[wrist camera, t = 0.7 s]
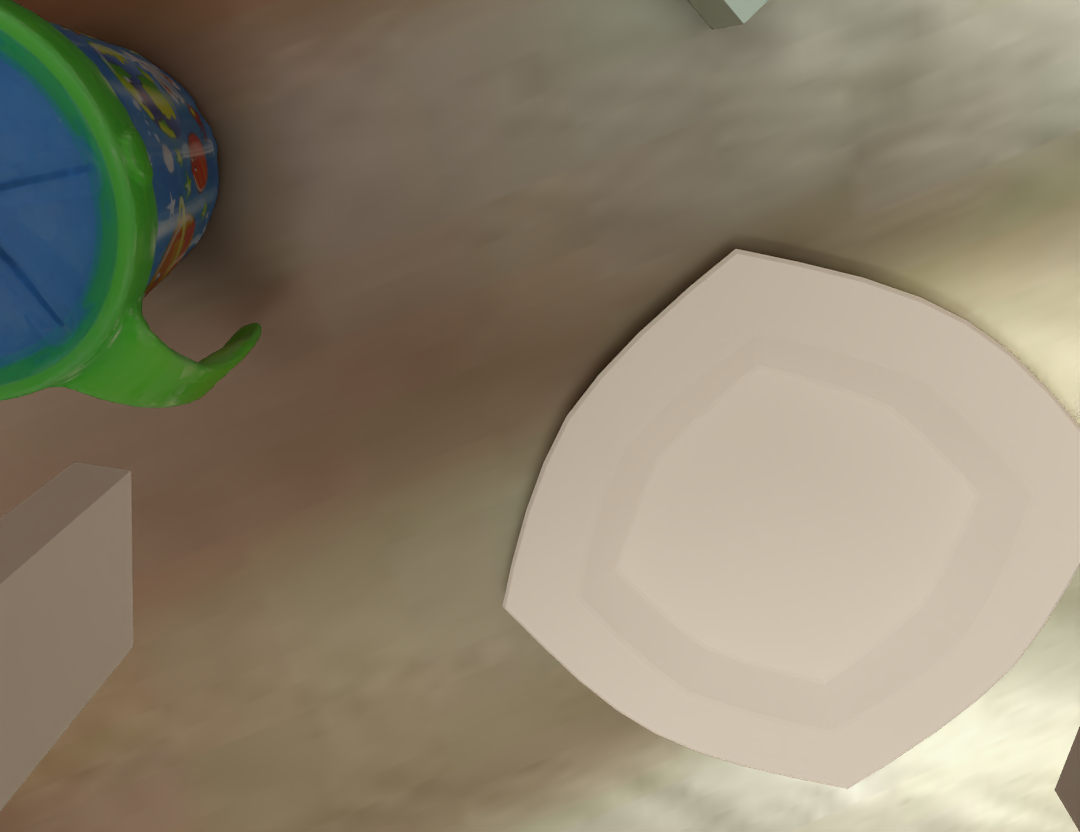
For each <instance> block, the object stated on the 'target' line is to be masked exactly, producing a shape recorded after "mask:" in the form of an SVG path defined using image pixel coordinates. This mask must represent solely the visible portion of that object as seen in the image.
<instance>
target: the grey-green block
mask: <svg viewBox="0 0 1080 832" xmlns="http://www.w3.org/2000/svg"><path fill="white" fill-rule="evenodd" d="M688 1H689V2H690V3H691V4H692V6H693V7H694V8H695V9H696V10H697V11H698V13H699V14H700V15H701V16H702V17H703V18H704V20H705V21H706V22H707V23H708V24H709V26H710V27H711V28H712V29H715V28H722V27H728V26H734V25H740V24H744V23H745V22H746V21H748V20H749V19H750V18H751V17H752V16H753V15H754V14H755V13H756V12H757V11H758V10H759V9H760V8H761V7H762V6H763V5H764V4H765V3H766V2H767V1H768V0H688Z"/></svg>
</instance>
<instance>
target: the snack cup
mask: <svg viewBox="0 0 1080 832" xmlns="http://www.w3.org/2000/svg"><path fill="white" fill-rule="evenodd" d="M217 152H218V145H217V143H216V141H215V139H214V137H213V133H212V130H211V127H210V126H209V125H208V123H207V122H206V121H205V120H204V118H203V116H202V115H201V113H200V112H199V111H198V109H197V107H196V104H195V102H194V99H193V98H192V97H191V96H190V95H189V94H188V92H187V91H186V90H185V89H184V88H183V87H182V86H181V85H180V84H179V83H178V82H176V81H175V80H174V79H173V78H172V77H170V76H169V75H168V74H167V73H165V72H164V71H162V70H161V69H159V68H158V67H156V66H155V65H153V64H152V63H150V62H149V61H148V60H146V59H145V58H144V57H142V56H141V55H139V54H138V53H136V52H134V51H131V50H129V49H126V48H123V47H120V46H116V45H113V44H110V43H106V42H104V41H102V40H99V39H96V38H95V37H92V36H89V35H86V34H84V33H81V32H77V31H74V30H72V29H69V28H66V27H63V26H60V25H57V24H54V23H51V22H48V21H45V20H44V19H43V18H41V17H40V16H38V15H37V14H35V13H34V12H32V11H30V10H28V9H26V8H24V7H23V6H21V5H19V4H17V3H15V2H14V1H12V0H0V401H1V400H7V399H12V398H17V397H21V396H24V395H27V394H31V393H34V392H37V391H39V390H42V389H45V388H48V387H66V388H69V389H73V390H76V391H78V392H81V393H84V394H87V395H90V396H93V397H96V398H98V399H103V400H107V401H110V402H114V403H120V404H125V405H130V406H134V407H147V408H165V407H174V406H179V405H183V404H188V403H191V402H193V401H195V400H198V399H199V398H201V397H202V396H204V395H205V394H206V393H207V392H208V391H209V390H210V389H211V388H213V387H214V385H215V384H216V383H217V382H218V381H219V380H220V379H222V378H223V377H224V376H226V374H227V373H228V372H229V371H230V370H231V369H233V368H234V367H235V366H236V365H237V364H238V363H239V362H240V361H241V360H242V359H243V358H244V357H245V356H246V355H247V354H248V353H249V351H250V350H251V349H252V348H253V347H254V345H255V344H256V342H257V341H258V339H259V337H260V335H261V325H260V324H258V323H252V324H249V325H246V326H244V327H242V328H241V329H240V330H238V331H237V332H236V333H235V334H234V335H233V336H232V338H231V339H230V340H229V341H228V342H227V343H226V344H225V345H224V347H223V348H221V349H220V350H218V351H216V352H214V353H213V354H211V355H209V356H207V357H206V358H204V359H202V360H201V361H200V362H198V363H197V362H195V361H193V360H191V359H189V358H187V357H185V356H183V355H181V354H179V353H177V352H175V351H174V350H172V349H170V348H169V347H168V346H167V345H166V344H165V343H163V342H162V341H161V340H160V339H159V338H158V337H157V336H156V335H155V334H154V333H153V332H152V331H151V330H150V328H149V326H148V324H147V322H146V321H145V319H144V318H143V315H142V299H143V298H144V297H145V296H146V295H147V294H148V293H149V292H150V291H151V290H152V289H153V288H154V287H155V286H156V285H157V284H158V283H159V282H161V281H162V280H163V279H164V278H165V277H166V276H167V275H168V274H169V273H170V272H171V271H172V269H173V268H174V267H175V266H176V265H177V264H178V263H179V262H180V261H181V260H182V258H184V257H185V256H186V255H187V253H188V252H189V251H190V250H191V249H192V248H193V247H194V246H195V245H196V244H197V243H198V241H199V240H200V239H201V237H202V236H203V233H204V232H205V229H206V225H207V223H208V222H209V220H210V217H211V214H212V212H213V209H214V206H215V203H216V200H217V194H218V188H219V175H218V164H217Z"/></svg>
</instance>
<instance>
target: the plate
mask: <svg viewBox="0 0 1080 832" xmlns="http://www.w3.org/2000/svg"><path fill="white" fill-rule="evenodd" d="M1079 565H1080V426H1079V425H1078V424H1077V422H1076V421H1075V420H1074V419H1073V418H1072V416H1071V415H1070V414H1069V413H1068V412H1067V410H1066V409H1065V408H1064V407H1063V406H1062V404H1061V403H1060V402H1059V401H1058V399H1057V398H1056V397H1055V396H1054V395H1053V393H1052V392H1051V391H1050V390H1049V389H1048V388H1047V387H1046V386H1045V385H1044V384H1043V383H1042V382H1041V381H1040V380H1039V379H1038V378H1037V377H1036V376H1035V375H1034V374H1033V373H1032V372H1031V371H1030V370H1029V369H1028V368H1026V367H1025V366H1024V365H1023V364H1022V363H1021V362H1020V361H1019V360H1018V359H1017V358H1016V357H1015V356H1014V355H1013V354H1012V353H1011V352H1010V351H1009V350H1007V349H1006V348H1005V347H1003V346H1002V345H1000V344H999V343H998V342H996V341H995V340H994V339H992V338H991V337H989V336H988V335H987V334H985V333H984V332H983V331H981V330H980V329H978V328H977V327H976V326H974V325H973V324H971V323H970V322H969V321H967V320H965V319H963V318H961V317H959V316H957V315H955V314H953V313H951V312H949V311H947V310H945V309H943V308H941V307H939V306H937V305H935V304H933V303H931V302H929V301H927V300H925V299H923V298H921V297H918V296H915V295H912V294H909V293H907V292H904V291H901V290H898V289H895V288H892V287H889V286H886V285H883V284H880V283H878V282H875V281H872V280H869V279H866V278H863V277H859V276H855V275H850V274H846V273H842V272H838V271H834V270H830V269H826V268H822V267H818V266H814V265H809V264H805V263H801V262H797V261H792V260H787V259H783V258H778V257H773V256H768V255H763V254H759V253H754V252H749V251H744V250H740V249H735V250H734V251H732V252H731V253H730V254H729V255H727V256H726V257H725V258H724V259H723V260H721V261H720V262H719V263H718V264H716V265H715V266H714V267H713V268H712V269H710V270H709V271H708V272H707V273H706V274H704V275H703V276H702V277H701V278H699V279H698V280H697V281H696V282H695V283H693V284H692V285H691V286H690V287H689V288H687V289H686V290H685V291H684V292H683V293H682V294H681V295H680V296H679V297H678V298H676V299H675V300H674V301H673V302H672V303H671V304H670V305H669V306H668V307H667V308H665V309H664V310H663V311H662V312H661V313H660V314H659V315H658V316H657V317H655V318H654V319H653V320H652V321H651V322H650V323H649V324H648V325H647V326H646V327H644V328H643V329H642V330H641V331H640V332H639V333H638V334H637V335H636V336H635V337H634V338H633V339H632V340H631V341H630V342H629V343H628V344H627V346H626V347H625V348H624V349H623V350H622V351H621V352H620V353H619V354H618V355H617V356H616V357H615V358H614V359H613V360H612V361H611V362H610V363H609V364H608V365H607V367H606V368H605V369H604V370H603V371H602V372H601V373H600V374H599V375H598V376H597V378H596V379H595V380H594V381H593V383H592V384H591V385H590V387H589V388H588V389H587V391H586V392H585V393H584V394H583V396H582V397H581V398H580V400H579V401H578V402H577V403H576V405H575V406H574V407H573V409H572V410H571V411H570V412H569V414H568V415H567V416H566V418H565V420H564V422H563V424H562V426H561V428H560V430H559V432H558V434H557V436H556V438H555V440H554V443H553V445H552V447H551V449H550V451H549V453H548V455H547V457H546V459H545V461H544V463H543V466H542V469H541V471H540V474H539V477H538V479H537V482H536V485H535V488H534V490H533V493H532V496H531V499H530V501H529V504H528V507H527V510H526V513H525V517H524V520H523V524H522V528H521V531H520V535H519V539H518V542H517V546H516V550H515V553H514V557H513V560H512V564H511V569H510V574H509V578H508V583H507V588H506V593H505V597H504V602H503V608H504V609H505V610H506V611H507V612H508V613H509V614H510V615H511V616H512V617H513V618H514V619H515V620H516V621H517V622H518V623H519V624H520V625H521V626H522V627H523V628H524V629H525V630H526V631H527V632H528V633H529V634H530V635H531V636H532V637H533V638H535V639H536V640H537V641H538V642H539V643H540V644H541V645H542V646H543V647H544V648H545V649H546V650H547V651H548V652H549V653H550V654H551V655H552V656H553V657H554V658H555V659H557V660H558V661H559V662H560V663H561V664H562V665H563V666H564V667H565V668H566V669H567V670H568V671H569V672H570V673H571V674H572V675H574V676H575V677H576V678H577V679H578V680H579V681H580V682H582V683H583V684H584V685H585V686H587V687H588V688H589V689H590V690H592V691H593V692H594V693H596V694H597V695H598V696H599V697H601V698H602V699H603V700H604V701H606V702H607V703H608V704H609V705H611V706H612V707H613V708H615V709H616V710H617V711H619V712H620V713H622V714H624V715H625V716H627V717H629V718H630V719H632V720H633V721H635V722H637V723H638V724H640V725H642V726H643V727H645V728H647V729H648V730H650V731H652V732H653V733H655V734H657V735H660V736H662V737H664V738H666V739H669V740H671V741H673V742H675V743H678V744H680V745H682V746H685V747H687V748H689V749H691V750H694V751H696V752H700V753H703V754H706V755H709V756H713V757H716V758H719V759H722V760H725V761H729V762H732V763H735V764H738V765H741V766H745V767H749V768H754V769H758V770H762V771H767V772H771V773H775V774H780V775H784V776H789V777H793V778H797V779H802V780H807V781H812V782H817V783H822V784H827V785H832V786H837V787H842V788H847V789H848V788H850V787H852V786H853V785H855V784H856V783H858V782H860V781H861V780H863V779H865V778H866V777H868V776H870V775H871V774H873V773H875V772H876V771H878V770H879V769H881V768H883V767H884V766H886V765H888V764H889V763H891V762H892V761H894V760H895V759H897V758H898V757H900V756H901V755H903V754H904V753H906V752H907V751H909V750H910V749H912V748H913V747H914V746H916V745H917V744H919V743H920V742H922V741H923V740H925V739H926V738H928V737H929V736H931V735H932V734H934V733H935V732H937V731H938V730H939V729H941V728H942V727H943V726H945V725H946V724H947V723H948V722H950V721H951V720H952V719H954V718H955V717H956V716H958V715H959V714H960V713H961V712H963V711H964V710H965V709H967V708H968V707H969V706H971V705H972V704H973V703H974V702H976V701H977V700H978V699H979V698H980V697H981V696H982V695H983V694H985V693H986V692H987V691H988V690H989V689H990V688H991V687H992V686H993V685H994V684H995V683H996V682H998V681H999V680H1000V679H1001V678H1002V677H1003V676H1004V675H1005V674H1006V673H1007V672H1008V671H1009V670H1011V669H1012V668H1013V667H1014V666H1015V664H1016V663H1017V661H1018V660H1019V659H1020V657H1021V656H1022V655H1023V653H1024V652H1025V651H1026V649H1027V648H1028V647H1029V645H1030V644H1031V643H1032V641H1033V640H1034V639H1035V637H1036V636H1037V635H1038V633H1039V632H1040V631H1041V629H1042V628H1043V627H1044V625H1045V624H1046V622H1047V620H1048V619H1049V617H1050V615H1051V614H1052V612H1053V610H1054V609H1055V607H1056V605H1057V604H1058V602H1059V600H1060V599H1061V597H1062V595H1063V594H1064V592H1065V591H1066V589H1067V587H1068V586H1069V584H1070V582H1071V580H1072V578H1073V576H1074V575H1075V573H1076V571H1077V569H1078V567H1079Z"/></svg>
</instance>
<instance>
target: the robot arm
mask: <svg viewBox="0 0 1080 832" xmlns="http://www.w3.org/2000/svg"><path fill="white" fill-rule="evenodd" d="M132 647H133V583H132V501H131V470H125V469H118V468H112V467H105V466H99V465H92V464H86V463H79V462H74V463H72V464H71V465H70V466H68V467H67V468H66V469H64V470H63V471H62V472H60V473H59V474H58V475H57V476H55V477H54V478H53V479H51V480H50V481H49V482H47V483H46V484H45V485H43V486H42V487H41V488H39V489H38V490H37V491H36V492H34V493H33V494H32V495H30V496H29V497H28V498H26V499H25V500H24V501H22V502H21V503H20V504H18V505H17V506H16V507H15V508H13V509H12V510H11V511H9V512H8V513H7V514H5V515H4V516H3V517H1V518H0V811H1V810H2V809H3V807H4V806H5V805H6V804H7V802H8V801H9V800H10V799H11V797H12V796H13V795H14V794H15V792H16V791H17V790H18V789H19V788H20V786H21V785H22V784H23V783H24V781H25V780H26V779H27V778H28V776H29V775H30V774H31V773H32V771H33V770H34V769H35V768H36V766H37V765H38V764H39V763H40V761H41V760H42V759H43V758H44V757H45V755H46V754H47V753H48V752H49V750H50V749H51V748H52V747H53V745H54V744H55V743H56V742H57V740H58V739H59V738H60V737H61V735H62V734H63V733H64V732H65V731H66V729H67V728H68V727H69V726H70V724H71V723H72V722H73V721H74V719H75V718H76V717H77V716H78V714H79V713H80V712H81V711H82V709H83V708H84V707H85V706H86V704H87V703H88V702H89V701H90V700H91V698H92V697H93V696H94V695H95V693H96V692H97V691H98V690H99V688H100V687H101V686H102V685H103V683H104V682H105V681H106V680H107V678H108V677H109V676H110V675H111V673H112V672H113V671H114V670H115V669H116V667H117V666H118V665H119V664H120V662H121V661H122V660H123V659H124V657H125V656H126V655H127V654H128V652H129V651H130V650H131V649H132ZM1055 791H1056V793H1057V795H1058V796H1059V798H1060V800H1061V801H1062V803H1063V805H1064V806H1065V808H1066V810H1067V811H1068V813H1069V815H1070V816H1071V818H1072V820H1073V821H1074V823H1075V825H1076V826H1077V828H1078V830H1079V832H1080V727H1079V729H1078V732H1077V735H1076V737H1075V740H1074V742H1073V745H1072V747H1071V750H1070V752H1069V755H1068V757H1067V760H1066V763H1065V765H1064V768H1063V770H1062V773H1061V775H1060V778H1059V780H1058V783H1057V785H1056V788H1055Z"/></svg>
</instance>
